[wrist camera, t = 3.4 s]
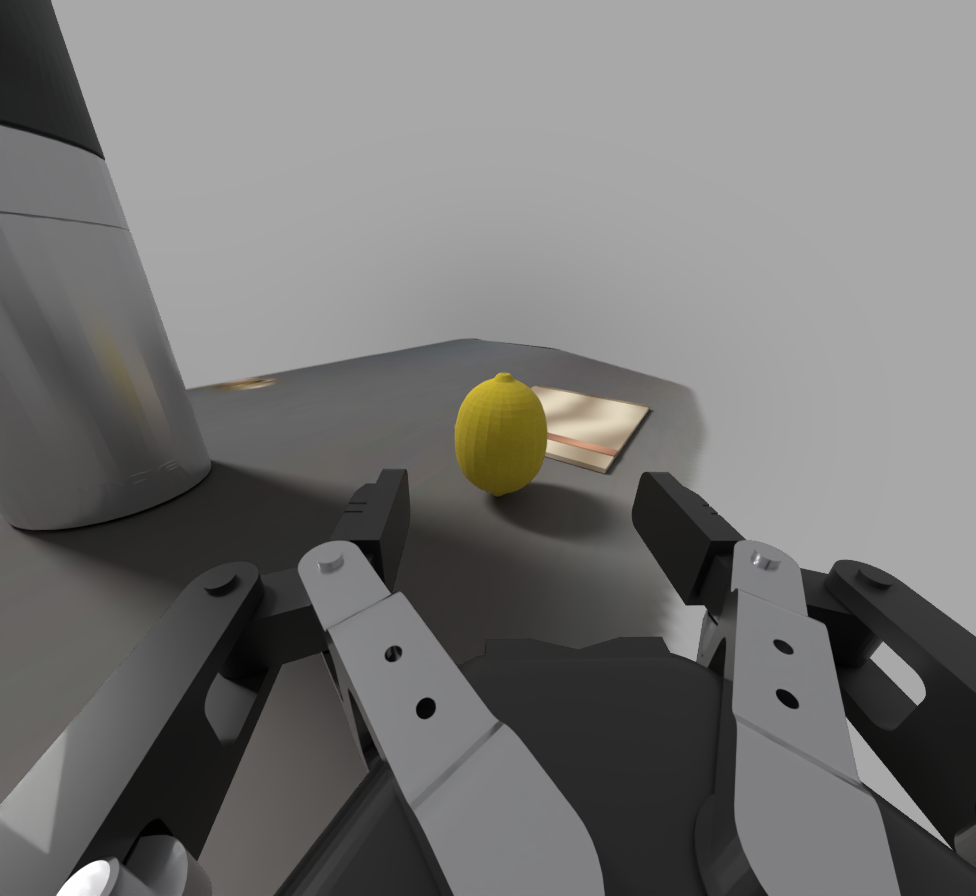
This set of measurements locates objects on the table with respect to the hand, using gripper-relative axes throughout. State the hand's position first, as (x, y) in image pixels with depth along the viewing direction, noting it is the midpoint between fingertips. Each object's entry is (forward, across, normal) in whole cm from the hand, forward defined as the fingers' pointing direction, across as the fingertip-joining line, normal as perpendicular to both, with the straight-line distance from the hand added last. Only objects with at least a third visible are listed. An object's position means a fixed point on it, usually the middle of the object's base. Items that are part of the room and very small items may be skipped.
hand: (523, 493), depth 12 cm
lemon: (+9, 0, +6) cm, 11 cm away
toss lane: (+23, -8, +6) cm, 25 cm away
